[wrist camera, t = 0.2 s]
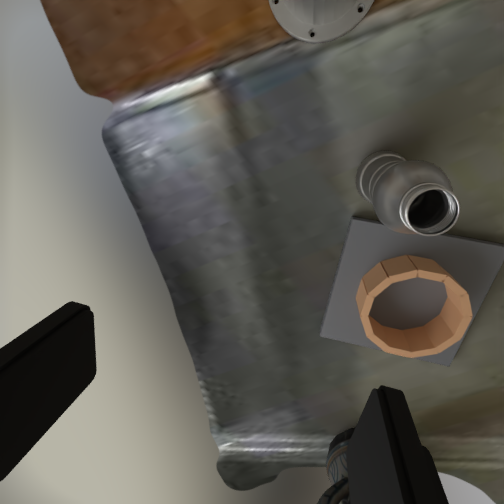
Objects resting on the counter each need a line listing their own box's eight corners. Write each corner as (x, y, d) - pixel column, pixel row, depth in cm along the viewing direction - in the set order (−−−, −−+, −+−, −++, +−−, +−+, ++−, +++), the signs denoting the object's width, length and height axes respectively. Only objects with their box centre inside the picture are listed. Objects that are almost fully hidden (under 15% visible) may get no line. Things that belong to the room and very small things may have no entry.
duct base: (351, 216, 43) (357, 229, 37) (503, 244, 40) (536, 263, 34) (319, 330, 50) (320, 357, 44) (445, 359, 48) (463, 392, 42)
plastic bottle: (391, 139, 38) (461, 144, 20) (414, 185, 40) (499, 229, 21) (344, 167, 40) (368, 195, 22) (367, 209, 42) (407, 269, 24)
